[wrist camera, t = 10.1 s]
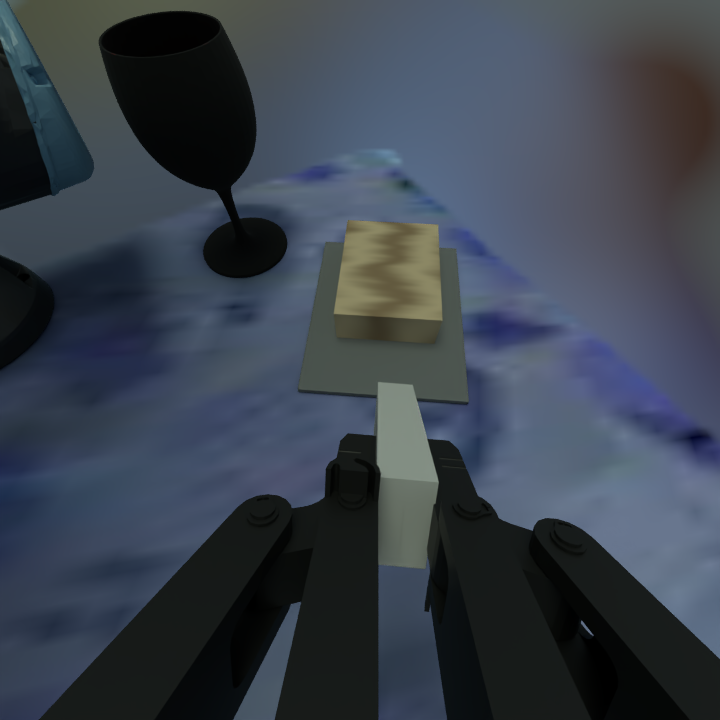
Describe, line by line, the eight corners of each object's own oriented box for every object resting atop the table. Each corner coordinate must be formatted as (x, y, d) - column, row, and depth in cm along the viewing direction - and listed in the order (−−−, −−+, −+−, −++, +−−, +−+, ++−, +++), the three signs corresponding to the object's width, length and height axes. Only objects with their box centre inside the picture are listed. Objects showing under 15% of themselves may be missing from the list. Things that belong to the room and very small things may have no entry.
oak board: (333, 313, 31) (347, 220, 37) (336, 337, 34) (349, 248, 40) (442, 320, 30) (437, 224, 36) (434, 343, 34) (431, 252, 40)
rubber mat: (298, 391, 32) (297, 389, 31) (326, 245, 42) (325, 242, 41) (466, 404, 31) (468, 401, 31) (454, 252, 41) (456, 248, 40)
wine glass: (282, 278, 39) (217, 62, 22) (194, 278, 39) (59, 63, 22) (291, 219, 44) (245, 6, 27) (214, 219, 44) (116, 7, 27)
